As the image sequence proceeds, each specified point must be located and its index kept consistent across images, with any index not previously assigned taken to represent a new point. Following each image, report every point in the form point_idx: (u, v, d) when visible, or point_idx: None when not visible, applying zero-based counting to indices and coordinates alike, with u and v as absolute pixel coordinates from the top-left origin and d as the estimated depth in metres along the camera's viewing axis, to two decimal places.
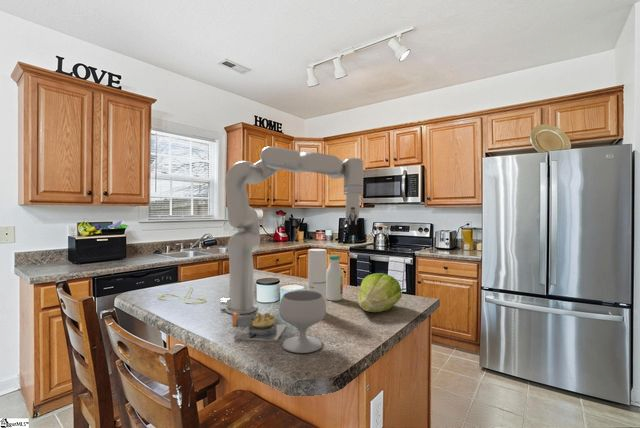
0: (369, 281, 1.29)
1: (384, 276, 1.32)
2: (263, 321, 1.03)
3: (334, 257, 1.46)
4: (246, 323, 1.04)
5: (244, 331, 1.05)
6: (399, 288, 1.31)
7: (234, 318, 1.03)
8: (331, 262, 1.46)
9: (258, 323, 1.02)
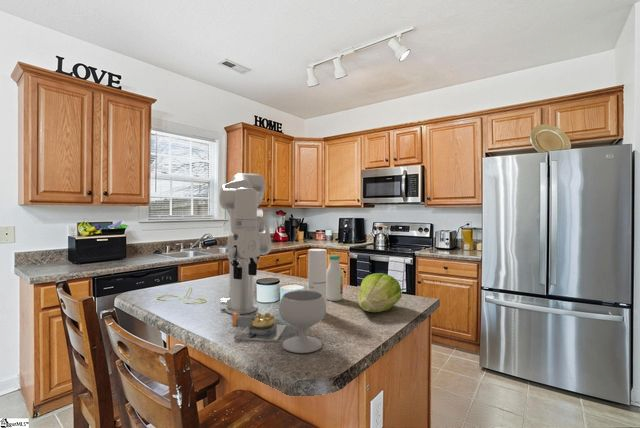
0: (369, 281, 1.29)
1: (384, 276, 1.32)
2: (263, 321, 1.03)
3: (334, 257, 1.46)
4: (246, 323, 1.04)
5: (244, 331, 1.05)
6: (399, 288, 1.31)
7: (234, 318, 1.03)
8: (331, 262, 1.46)
9: (258, 323, 1.02)
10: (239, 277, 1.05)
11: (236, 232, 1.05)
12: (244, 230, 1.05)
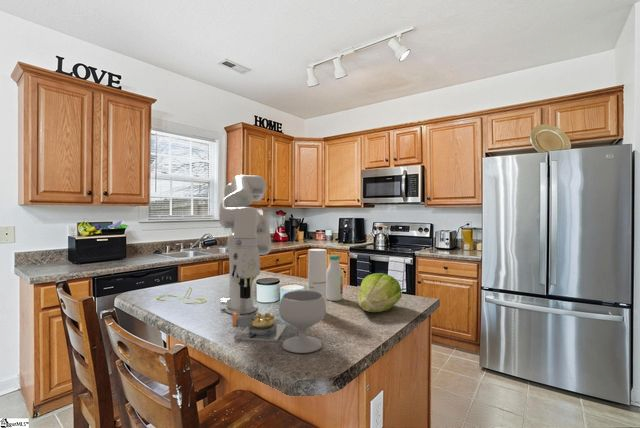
0: (369, 281, 1.29)
1: (384, 276, 1.32)
2: (263, 321, 1.03)
3: (334, 257, 1.46)
4: (246, 323, 1.04)
5: (244, 331, 1.05)
6: (399, 288, 1.31)
7: (234, 318, 1.03)
8: (331, 262, 1.46)
9: (258, 323, 1.02)
10: (246, 296, 1.07)
11: (235, 252, 1.05)
12: (244, 249, 1.05)
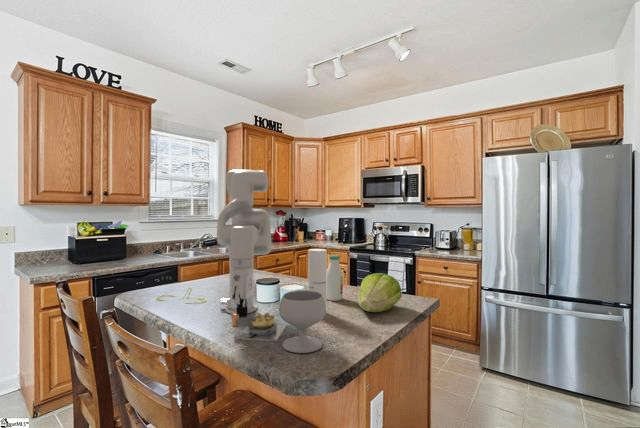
0: (369, 281, 1.29)
1: (384, 276, 1.32)
2: (264, 321, 1.03)
3: (334, 257, 1.46)
4: (246, 324, 1.04)
5: (244, 331, 1.05)
6: (399, 288, 1.31)
7: (234, 319, 1.03)
8: (331, 262, 1.46)
9: (259, 323, 1.02)
10: None
11: (237, 273, 1.02)
12: (245, 270, 1.03)
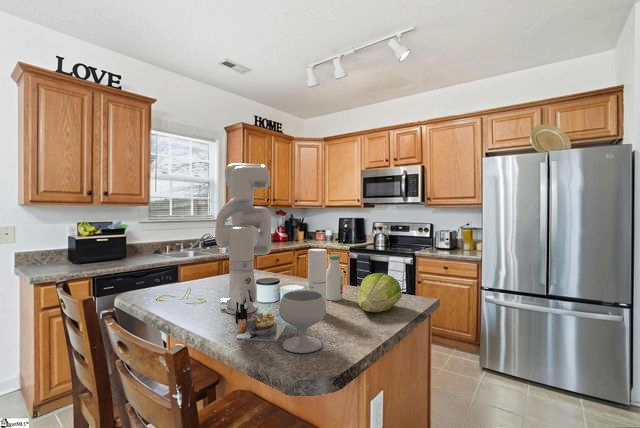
0: (369, 281, 1.29)
1: (384, 276, 1.32)
2: (269, 320, 1.04)
3: (334, 257, 1.46)
4: (252, 327, 1.01)
5: None
6: (399, 288, 1.31)
7: (243, 324, 0.98)
8: (331, 262, 1.46)
9: (267, 322, 1.03)
10: None
11: (247, 276, 0.98)
12: None
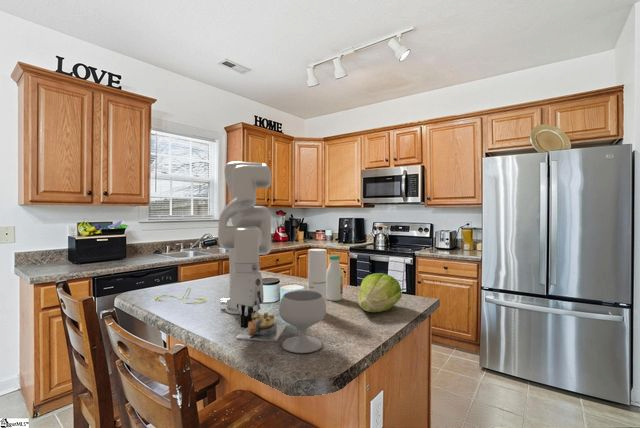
0: (369, 281, 1.29)
1: (384, 276, 1.32)
2: (271, 318, 1.05)
3: (334, 257, 1.46)
4: (258, 327, 1.01)
5: (244, 331, 1.05)
6: (399, 288, 1.31)
7: (254, 325, 0.97)
8: (331, 262, 1.46)
9: (271, 321, 1.04)
10: None
11: (257, 277, 0.97)
12: None
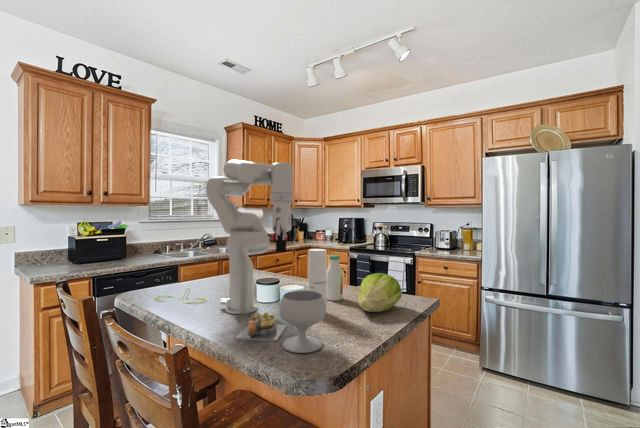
0: (369, 281, 1.29)
1: (384, 276, 1.32)
2: (271, 318, 1.05)
3: (334, 257, 1.46)
4: (258, 327, 1.01)
5: (244, 331, 1.05)
6: (399, 288, 1.31)
7: (254, 325, 0.97)
8: (331, 262, 1.46)
9: (271, 321, 1.04)
10: (283, 250, 1.10)
11: (278, 205, 1.07)
12: (286, 203, 1.07)
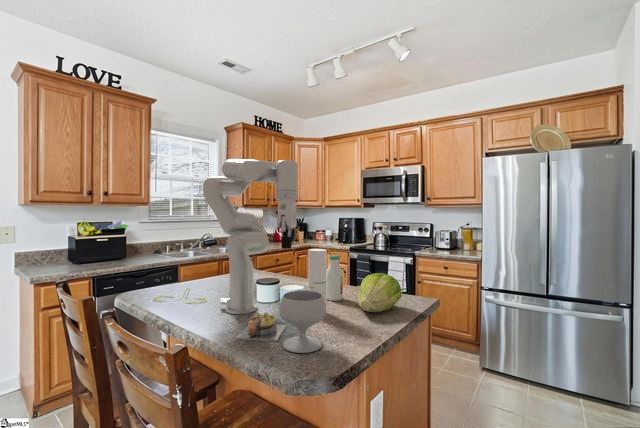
0: (369, 281, 1.29)
1: (384, 276, 1.32)
2: (271, 318, 1.05)
3: (334, 257, 1.46)
4: (258, 327, 1.01)
5: (244, 331, 1.05)
6: (399, 288, 1.31)
7: (254, 325, 0.97)
8: (331, 262, 1.46)
9: (271, 321, 1.04)
10: (288, 246, 1.12)
11: (283, 202, 1.08)
12: (291, 200, 1.09)
